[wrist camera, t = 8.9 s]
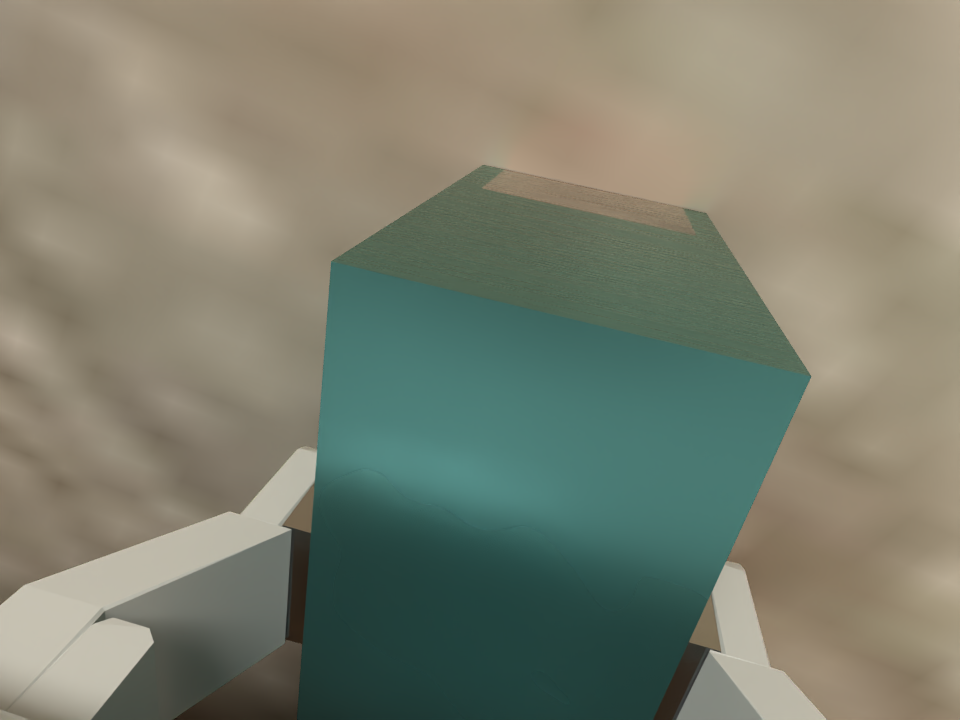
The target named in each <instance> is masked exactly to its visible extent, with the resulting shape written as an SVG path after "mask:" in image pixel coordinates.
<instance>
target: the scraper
mask: <svg viewBox="0 0 960 720" xmlns="http://www.w3.org/2000/svg"><path fill="white" fill-rule="evenodd" d="M810 378H811V375H810V374H809V372H808V371H807V369H806V368H805V366H804V364H803V363H802V361H801V360H800V358H799V357H798V355H797V354H796V352H795V350H794V349H793V347H792V346H791V344H790V343H789V341H788V340H787V338H786V336H785V335H784V333H783V332H782V330H781V329H780V327H779V326H778V324H777V322H776V321H775V319H774V318H773V316H772V315H771V313H770V312H769V310H768V308H767V307H766V305H765V304H764V302H763V301H762V299H761V298H760V296H759V294H758V293H757V291H756V290H755V288H754V287H753V285H752V284H751V282H750V281H749V279H748V277H747V276H746V274H745V273H744V271H743V270H742V268H741V267H740V265H739V263H738V262H737V260H736V259H735V257H734V256H733V254H732V253H731V251H730V249H729V248H728V246H727V245H726V243H725V242H724V240H723V239H722V237H721V235H720V234H719V232H718V231H717V229H716V228H715V226H714V225H713V223H712V221H711V220H710V218H709V217H708V215H707V214H706V213H703V212H698V211H693V210H689V209H684V208H680V207H675V206H670V205H666V204H661V203H656V202H652V201H647V200H643V199H638V198H633V197H629V196H624V195H619V194H615V193H610V192H606V191H601V190H596V189H592V188H587V187H583V186H578V185H573V184H569V183H564V182H559V181H555V180H550V179H546V178H541V177H536V176H532V175H527V174H523V173H518V172H513V171H509V170H504V169H499V168H495V167H490V166H486V165H482V166H481V167H479V168H478V169H476V170H474V171H473V172H471V173H470V174H468V175H467V176H465V177H463V178H462V179H460V180H459V181H457V182H456V183H454V184H452V185H451V186H449V187H448V188H446V189H445V190H443V191H441V192H440V193H438V194H437V195H435V196H434V197H432V198H430V199H429V200H427V201H426V202H424V203H422V204H421V205H419V206H418V207H416V208H415V209H413V210H411V211H410V212H408V213H407V214H405V215H404V216H402V217H400V218H399V219H397V220H396V221H394V222H393V223H391V224H389V225H388V226H386V227H385V228H383V229H382V230H380V231H378V232H377V233H375V234H374V235H372V236H371V237H369V238H367V239H366V240H364V241H363V242H361V243H360V244H358V245H356V246H355V247H353V248H352V249H350V250H349V251H347V252H345V253H344V254H342V255H341V256H339V257H337V258H336V259H334V260H333V261H331V272H330V285H329V299H328V312H327V325H326V339H325V352H324V365H323V378H322V392H321V405H320V418H319V432H318V445H317V458H316V471H315V485H314V498H313V511H312V525H311V538H310V551H309V564H308V578H307V591H306V604H305V618H304V631H303V644H302V658H301V671H300V684H299V697H298V711H297V720H653V719H654V716H655V714H656V712H657V710H658V708H659V706H660V703H661V701H662V699H663V697H664V695H665V693H666V690H667V688H668V686H669V684H670V682H671V680H672V677H673V675H674V673H675V671H676V669H677V667H678V664H679V662H680V660H681V658H682V656H683V654H684V651H685V649H686V647H687V645H688V643H689V641H690V638H691V636H692V634H693V632H694V630H695V628H696V625H697V623H698V621H699V619H700V617H701V614H702V612H703V610H704V608H705V606H706V604H707V601H708V599H709V597H710V595H711V593H712V591H713V588H714V586H715V584H716V582H717V580H718V578H719V575H720V573H721V571H722V569H723V567H724V565H725V562H726V560H727V558H728V556H729V554H730V552H731V549H732V547H733V545H734V543H735V541H736V539H737V536H738V534H739V532H740V530H741V528H742V526H743V523H744V521H745V519H746V517H747V515H748V513H749V510H750V508H751V506H752V504H753V502H754V500H755V497H756V495H757V493H758V491H759V489H760V486H761V484H762V482H763V480H764V478H765V476H766V473H767V471H768V469H769V467H770V465H771V463H772V460H773V458H774V456H775V454H776V452H777V450H778V447H779V445H780V443H781V441H782V439H783V437H784V434H785V432H786V430H787V428H788V426H789V424H790V421H791V419H792V417H793V415H794V413H795V411H796V408H797V406H798V404H799V402H800V400H801V398H802V395H803V393H804V391H805V389H806V387H807V385H808V382H809V380H810Z"/></svg>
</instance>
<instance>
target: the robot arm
mask: <svg viewBox="0 0 960 720" xmlns="http://www.w3.org/2000/svg"><path fill="white" fill-rule="evenodd" d="M316 458H317V449H315V448H311V447H307V446H304V447H301V448H299V449H297V450H296V451H295V452H294V453H293V454H292V455H291V457H290V458H289V459H288V460H287V461H286V462H285V463H284V465H283V466H282V467H281V468H280V469H279V470H278V471H277V472H276V474H275V475H274V476H273V477H272V478H271V479H270V480H269V482H268V483H267V484H266V485H265V486H264V487H263V488H262V490H261V491H260V492H259V493H258V494H257V495H256V496H255V497H254V499H253V500H252V501H251V502H250V503H249V504H248V505H247V507H246V508H245V509H244V510H243V511H242V512H241V513H240V514H237V513H233V512H226V513H224V514H221V515H218V516H215V517H212V518H210V519H207V520H204V521H201V522H199V523H196V524H193V525H190V526H187V527H185V528H182V529H179V530H176V531H173V532H171V533H168V534H165V535H162V536H160V537H157V538H154V539H151V540H148V541H146V542H143V543H140V544H137V545H134V546H132V547H129V548H126V549H123V550H120V551H118V552H115V553H112V554H109V555H107V556H104V557H101V558H98V559H95V560H93V561H90V562H87V563H84V564H81V565H79V566H76V567H73V568H70V569H68V570H65V571H62V572H59V573H56V574H54V575H51V576H48V577H45V578H42V579H40V580H37V581H34V582H31V583H28V584H26V585H24V586H22V587H21V588H20V589H19V590H18V591H17V592H15V593H14V594H13V595H12V596H11V597H9V598H8V599H7V600H6V601H5V602H4V603H2V604H1V605H0V720H173V719H174V718H176V717H177V716H179V715H180V714H182V713H183V712H185V711H186V710H188V709H189V708H191V707H192V706H193V705H195V704H196V703H198V702H199V701H201V700H202V699H204V698H205V697H207V696H208V695H210V694H211V693H213V692H214V691H216V690H217V689H219V688H220V687H221V686H223V685H224V684H226V683H227V682H229V681H230V680H232V679H233V678H235V677H236V676H238V675H239V674H241V673H242V672H244V671H245V670H246V669H248V668H249V667H251V666H252V665H254V664H255V663H257V662H258V661H260V660H261V659H263V658H264V657H266V656H267V655H269V654H270V653H272V652H273V651H274V650H276V649H277V648H279V647H280V646H282V645H283V644H285V639H286V640H290V641H293V642H297V643H301V644H303V631H304V618H305V604H306V591H307V578H308V564H309V551H310V538H311V525H312V511H313V498H314V485H315V471H316ZM653 720H827V719H826V718H825V717H824V716H823V715H822V714H821V713H820V711H819V710H818V709H817V708H816V707H815V706H814V705H813V704H812V702H811V701H810V700H809V699H808V698H807V697H806V696H805V695H804V694H803V692H802V691H801V690H800V689H799V688H798V687H797V686H796V685H795V684H794V682H793V681H792V680H791V679H790V678H789V677H788V676H787V675H786V673H785V672H784V671H781V670H777V669H774V668H771V666H770V662H769V658H768V654H767V651H766V647H765V643H764V639H763V636H762V632H761V628H760V625H759V621H758V617H757V613H756V610H755V606H754V602H753V598H752V595H751V591H750V587H749V583H748V580H747V576H746V572H745V569H744V568H743V567H742V566H741V565H740V564H738V563H734V562H730V561H726V562H725V565H724V567H723V569H722V571H721V573H720V575H719V578H718V580H717V582H716V584H715V586H714V588H713V591H712V593H711V595H710V597H709V599H708V601H707V604H706V606H705V608H704V610H703V612H702V614H701V617H700V619H699V621H698V623H697V625H696V628H695V630H694V632H693V634H692V636H691V638H690V641H689V643H688V645H687V647H686V649H685V651H684V654H683V656H682V658H681V660H680V662H679V664H678V667H677V669H676V671H675V673H674V675H673V677H672V680H671V682H670V684H669V686H668V688H667V690H666V693H665V695H664V697H663V699H662V701H661V703H660V706H659V708H658V710H657V712H656V714H655V716H654V719H653Z"/></svg>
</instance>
